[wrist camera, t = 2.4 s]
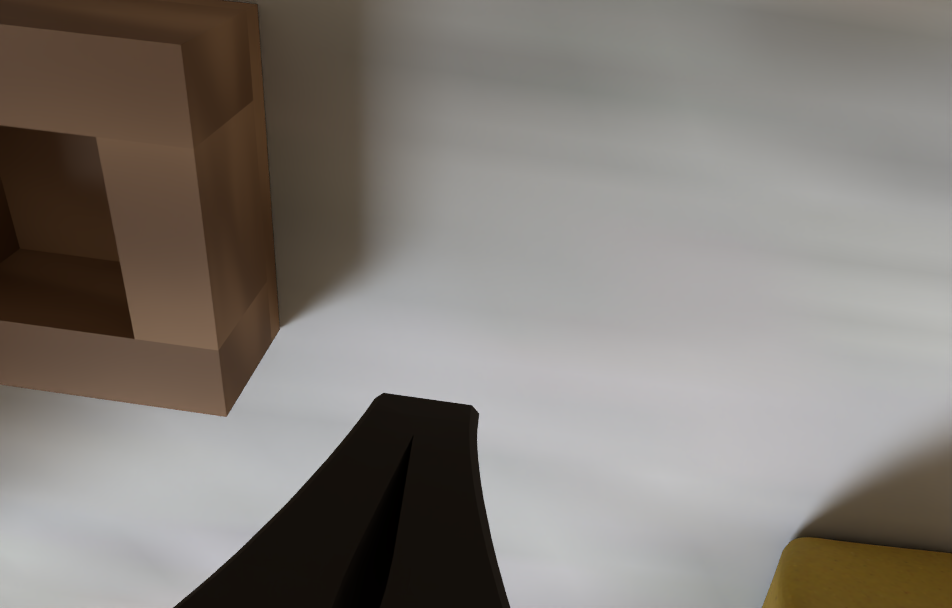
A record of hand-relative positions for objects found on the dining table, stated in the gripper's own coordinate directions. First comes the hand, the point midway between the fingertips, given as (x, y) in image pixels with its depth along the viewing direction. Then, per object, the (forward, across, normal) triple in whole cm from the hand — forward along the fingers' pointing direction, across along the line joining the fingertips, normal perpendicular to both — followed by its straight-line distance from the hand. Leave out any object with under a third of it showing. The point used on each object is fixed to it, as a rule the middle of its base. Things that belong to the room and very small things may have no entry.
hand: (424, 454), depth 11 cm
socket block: (+8, +9, 0) cm, 12 cm away
